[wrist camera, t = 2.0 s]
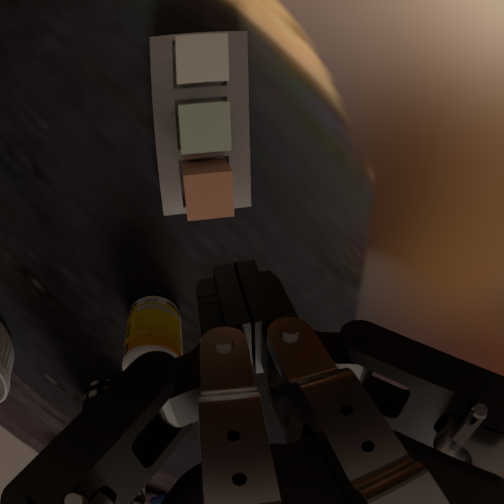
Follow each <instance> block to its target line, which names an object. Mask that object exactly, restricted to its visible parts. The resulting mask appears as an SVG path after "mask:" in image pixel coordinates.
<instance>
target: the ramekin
mask: <svg viewBox="0 0 504 504" xmlns="http://www.w3.org/2000/svg"><path fill="white" fill-rule="evenodd" d="M13 362H14V347H13V343H12V340H11V338H10V335H9V333H8V331H7V329H6V328H5V326H4V325H3V323H2V322H1V321H0V403H1V402H2V401H4V400H5V398H6V397H7V394H8V392H9V389H10V377H11V372H12V367H13Z"/></svg>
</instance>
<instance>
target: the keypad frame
mask: <svg viewBox="0 0 504 504" xmlns="http://www.w3.org/2000/svg"><path fill="white" fill-rule="evenodd" d="M208 33H228V52H229V81H225V82H216V83H201V84H188V85H177V72H176V41H175V36H179V35H191V34H208ZM150 63H151V85H152V102H153V116H154V129H155V141H156V151H157V161H158V171H159V180H160V188H161V197H162V205H163V212H164V216H166V215H175V214H183V213H187V210H186V200H185V189H184V179H183V163H185V162H195V161H205V160H217V159H225V160H226V162H227V163H228V165H229V167H230V168H231V170H232V175H233V199H234V208H241V207H251V178H250V132H249V87H248V41H247V31H220V32H198V33H184V34H172V35H163V36H154V37H150ZM217 100H224V101H229V102H230V121H231V149H232V150H230V151H217V152H206V153H195V154H185V155H181V142H180V128H179V112H178V105H179V103H190V102H202V101H217Z"/></svg>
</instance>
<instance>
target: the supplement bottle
mask: <svg viewBox="0 0 504 504" xmlns="http://www.w3.org/2000/svg"><path fill="white" fill-rule="evenodd" d="M151 351H163V352H167V353H169V354H171V355H172V356H173V357H174V358H176V357H179V356H182V355H183V351H182V333H181V317H180V313H179V310H178V308H177V307H176V306H175V305H174V304H173V303H172V302H171V301H170V300H168V299H166V298H163V297H160V296H147V297H143V298H141V299H139V300H137V301H136V302H135V303H134V304H133V305H132V307H131V308H130V311H129V316H128V322H127V328H126V336H125V343H124V351H123V359H122V369H123V371H124V370H125V369H126V368H127V367H128V366H129V365H130V364H131V363H132V362H133V361H134V360H135V359H136V358H137V357H139V356H140V355H142V354H144V353H147V352H151Z"/></svg>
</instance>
